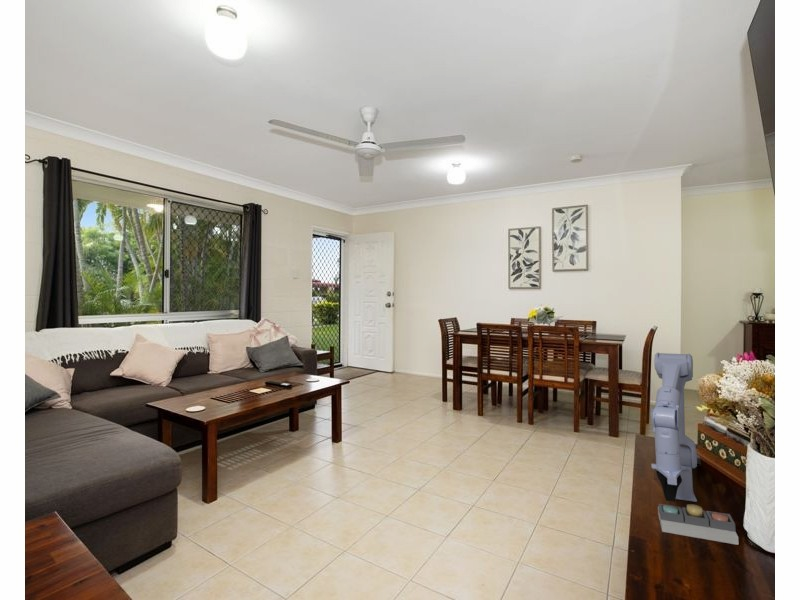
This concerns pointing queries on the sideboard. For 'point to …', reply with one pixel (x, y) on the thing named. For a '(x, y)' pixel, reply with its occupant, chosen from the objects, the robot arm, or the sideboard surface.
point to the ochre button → (694, 510)
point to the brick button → (719, 516)
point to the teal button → (670, 509)
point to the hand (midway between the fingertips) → (670, 500)
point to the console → (698, 525)
